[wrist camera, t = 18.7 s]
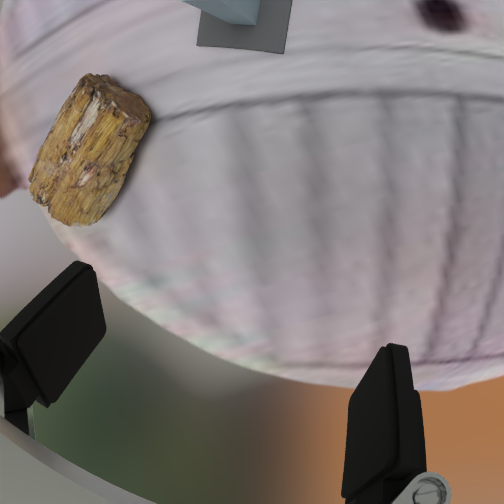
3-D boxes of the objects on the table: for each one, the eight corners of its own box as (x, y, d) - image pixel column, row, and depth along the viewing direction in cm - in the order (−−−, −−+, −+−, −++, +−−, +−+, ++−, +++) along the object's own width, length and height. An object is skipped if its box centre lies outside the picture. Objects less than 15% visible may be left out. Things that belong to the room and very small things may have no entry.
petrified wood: (107, 61, 34) (68, 72, 26) (179, 115, 39) (156, 139, 31) (49, 163, 43) (14, 193, 35) (109, 209, 48) (82, 246, 40)
